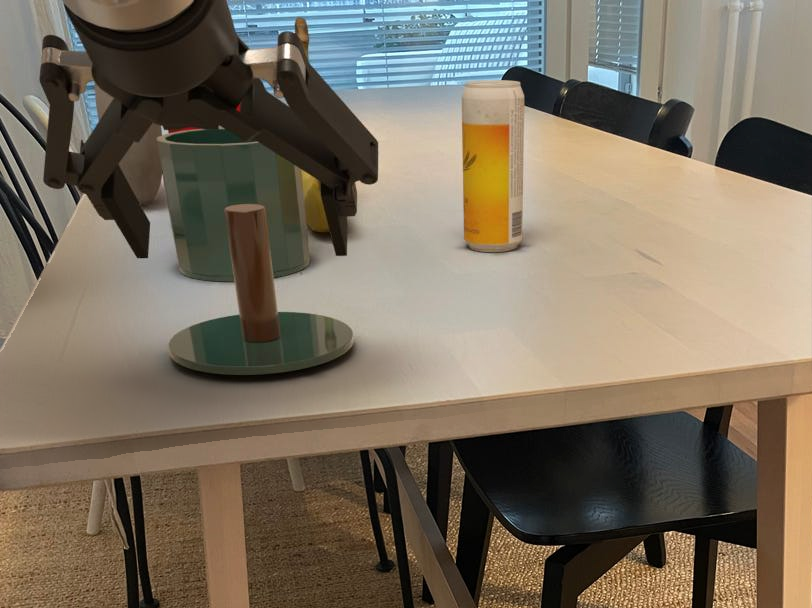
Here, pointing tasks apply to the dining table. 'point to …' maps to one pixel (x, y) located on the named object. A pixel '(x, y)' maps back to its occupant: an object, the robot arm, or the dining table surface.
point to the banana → (310, 184)
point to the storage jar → (229, 200)
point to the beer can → (493, 164)
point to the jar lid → (257, 316)
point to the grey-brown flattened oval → (138, 157)
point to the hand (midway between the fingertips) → (242, 239)
